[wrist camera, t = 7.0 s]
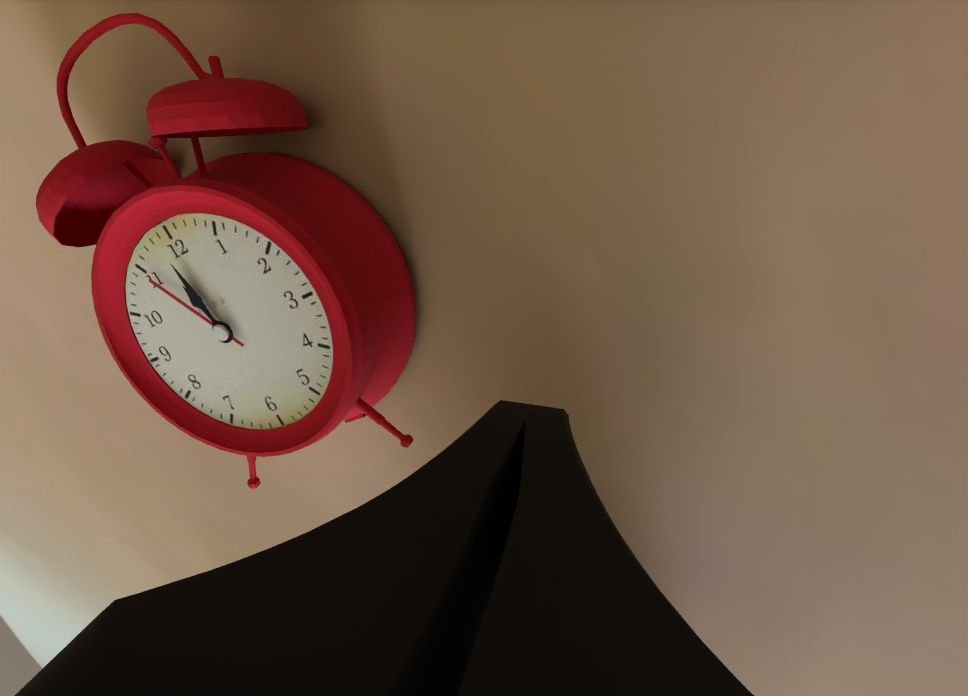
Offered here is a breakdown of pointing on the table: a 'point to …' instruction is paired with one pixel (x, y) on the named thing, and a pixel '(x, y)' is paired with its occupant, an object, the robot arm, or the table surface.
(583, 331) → the table surface
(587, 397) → the table surface
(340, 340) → the alarm clock
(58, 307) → the table surface
